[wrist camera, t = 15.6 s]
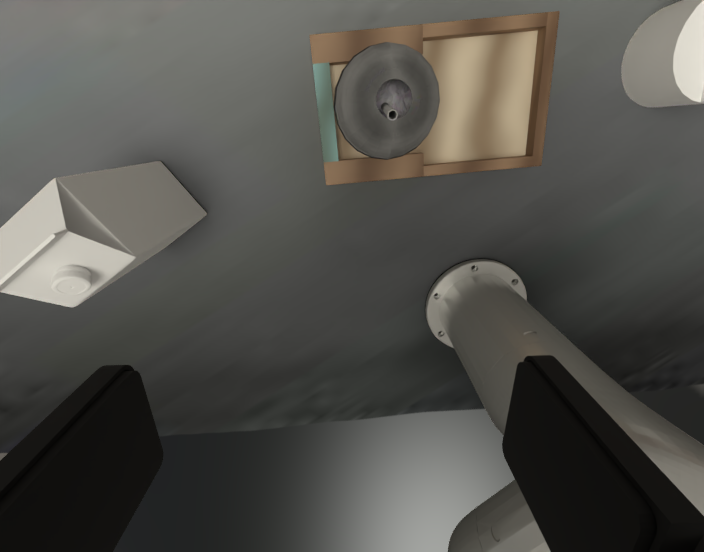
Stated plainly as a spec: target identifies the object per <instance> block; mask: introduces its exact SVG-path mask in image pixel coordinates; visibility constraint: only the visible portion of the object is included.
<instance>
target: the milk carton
mask: <svg viewBox="0 0 704 552" xmlns="http://www.w3.org/2000/svg"><path fill="white" fill-rule="evenodd" d="M206 215H207V213H206V212H205V211H204V209H203V208H202V207H201V206H200V205H199V204H198V203H197V202H196V200H195V199H194V198H193V197H192V196H191V195H190V194H189V193H188V191H187V190H186V189H185V188H184V187H183V186H182V185H181V183H180V182H179V181H178V180H177V179H176V178H175V177H174V176H173V174H172V173H171V172H170V171H169V170H168V169H167V168H166V167H165V165H164V164H163V163H162V162H161V161H156V162H150V163H144V164H138V165H132V166H126V167H120V168H114V169H107V170H101V171H95V172H89V173H83V174H77V175H71V176H65V177H59V178H54V179H53V180H52V181H50V182H49V183H48V184H47V185H46V186H45V187H44V188H43V189H42V190H41V191H40V192H39V193H38V194H36V195H35V196H34V197H33V198H32V199H31V200H30V201H29V202H28V203H27V204H26V205H25V206H24V207H23V208H22V209H20V210H19V211H18V212H17V213H16V214H15V215H14V216H13V217H12V218H11V219H10V220H9V221H8V222H7V223H6V224H4V225H3V226H2V227H1V228H0V292H2V293H7V294H12V295H16V296H21V297H26V298H30V299H35V300H39V301H44V302H49V303H53V304H58V305H62V306H67V307H75V306H77V305H79V304H81V303H82V302H84V301H85V300H87V299H88V298H90V297H91V296H93V295H94V294H96V293H97V292H99V291H100V290H102V289H103V288H105V287H106V286H108V285H110V284H111V283H113V282H114V281H116V280H117V279H119V278H120V277H122V276H123V275H125V274H126V273H128V272H129V271H131V270H132V269H134V268H135V267H137V266H138V265H140V264H141V263H143V262H144V261H146V260H147V259H149V258H150V257H152V256H154V255H155V254H157V253H158V252H160V251H161V250H163V249H164V248H166V247H167V246H168V245H170V244H171V243H172V242H173V241H175V240H176V239H177V238H178V237H180V236H181V235H182V234H183V233H185V232H186V231H187V230H188V229H190V228H191V227H192V226H193V225H195V224H196V223H197V222H198V221H200V220H201V219H202V218H204V217H205V216H206Z"/></svg>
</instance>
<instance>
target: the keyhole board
mask: <svg viewBox="0 0 704 552" xmlns="http://www.w3.org/2000/svg"><path fill="white" fill-rule="evenodd" d="M558 20H559V11H556V12H546V13H535V14H525V15H514V16H504V17H493V18H483V19H472V20H462V21H451V22H440V23H430V24H419V25H409V26H398V27H388V28H377V29H367V30H356V31H346V32H335V33H325V34H314V35H310V43H311V52H312V61H313V71H314V80H315V89H316V98H317V107H318V116H319V125H320V134H321V143H322V152H323V161H324V169H325V178H326V185H334V184H345V183H356V182H367V181H378V180H389V179H400V178H411V177H422V176H433V175H444V174H455V173H466V172H477V171H488V170H499V169H510V168H521V167H532V166H541V164H542V155H543V147H544V138H545V130H546V121H547V113H548V105H549V96H550V88H551V79H552V71H553V62H554V54H555V45H556V37H557V28H558ZM384 42H390V43H397V44H404V45H407V46H409V47H410V48H412V49H414V50H416V51H418V52H419V53H421V54H422V55H423V57H424V58H425V59H426V60H427V61H428V62H429V64H430V65H431V66H432V68H433V71H434V73H435V75H436V78H437V80H438V84H439V94H440V103H439V109H438V114H437V118H436V120H435V122H434V124H433V126H432V128H431V130H430V132H429V134H428V136H427V137H426V138H425V139H424V140H423V141H422V142H421V144H420V145H419V146H418V147H417V148H416V149H414V150H412V151H411V152H409V153H407V154H405V155H404V156H402V157H397V158H393V159H388V160H384V159H376V158H370V157H368V156H366V155H364V154H362V153H360V152H358V151H356V150H355V149H354V148H353V147H352V146H351V145H350V144H349V143H348V142H347V141H346V140H345V138H344V136H343V134H342V133H341V131H340V129H339V127H338V125H337V121H336V116H335V111H334V96H335V87H336V85H337V82H338V80H339V77H340V74H341V72H342V70H343V69H344V67H345V66H346V65H347V64H348V62H349V61H350V60H351V59H352V57H353V56H354V55H356V54H357V53H359V52H360V51H362V50H364V49H365V48H367V47H368V46H371V45H376V44H380V43H384Z"/></svg>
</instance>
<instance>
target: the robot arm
mask: <svg viewBox="0 0 704 552" xmlns="http://www.w3.org/2000/svg"><path fill="white" fill-rule="evenodd" d="M472 266H474V267H473V268H471V267H472ZM436 293H437V294H436ZM434 294H436V295H434ZM425 312H426V319H427V322H428V324H429V327H430V329H431V331H432V333H433V334H434V335H435V336H436V338H437V339H439V340H440V341H441V342H442V343H444V344H446V345H448V346H450V347H452V348H454V349H455V351H456V353H457V355H458V357H459V359H460V360H461V362H462V364H463V366H464V368H465V370H466V372H467V374H468V376H469V378H470V380H471V382H472V384H473V386H474V388H475V390H476V392H477V394H478V395H479V397H480V399H481V401H482V403H483V405H484V407H485V409H486V411H487V413H488V415H489V417H490V418H491V420H492V422H493V423H494V425H495V426H496V427H497V429H498V430H499V431H500V432H501V433H502V434H503V435H504V437H503V443H502V446H503V453H504V457H505V459H506V461H507V463H508V465H509V467H510V469H511V471H512V473H513V476H514V478H515V480H514V481H512V482H511V483H510V484H508V485H507V486H505V487H504V488H503V489H501V490H500V491H499V492H497V493H496V494H494V495H493V496H491V497H490V498H489V499H487V500H486V501H485V502H483V503H482V504H480V505H479V506H478V507H477V508H475V509H474V510H472V511H471V512H470V513H469V514H467V515H466V516H465V517H464V518H463V519H462V520H461V521H460V522H459V523H458V525H457V526H456V528H455V529H454V531H453V533H452V535H451V538H450V541H449V546H448V552H704V445H702V444H700V443H699V442H698V441H696V440H695V439H693V438H692V437H690V436H689V435H687V434H686V433H684V432H683V431H682V430H680V429H678V428H677V427H676V426H674V425H673V424H671V423H670V422H668V421H667V420H666V419H664V418H663V417H661V416H660V415H658V414H657V413H656V412H654V411H653V410H651V409H650V408H648V407H647V406H646V405H644V404H643V403H641V402H640V401H639V400H638V399H636V398H635V397H634V396H632V395H631V394H630V393H628V392H627V391H626V390H625V389H624V388H622V387H621V386H620V385H619V384H618V383H616V382H615V381H614V380H613V379H612V378H611V377H609V376H608V375H607V374H606V373H605V372H604V371H602V370H601V369H600V368H599V367H598V366H597V365H596V364H595V363H593V362H592V361H591V360H590V359H589V358H588V357H587V356H586V355H585V354H584V353H583V352H581V351H580V350H579V349H578V348H577V347H576V346H575V345H574V344H573V343H571V342H570V341H569V340H568V339H567V338H566V337H565V336H564V335H563V334H562V333H561V332H560V331H558V330H557V329H556V328H555V327H554V326H553V325H552V324H551V323H550V322H549V321H548V320H547V319H545V318H544V317H543V316H542V315H541V314H540V313H539V312H538V311H537V310H536V309H535V308H534V307H532V306H531V305H530V304H529V303H528V302H527V293H526V289H525V286H524V284H523V282H522V280H521V278H520V277H519V276H518V275H517V274H516V273H515V272H514V271H513V270H512V269H511V268H509V267H508V266H506V265H504V264H503V263H500V262H497V261H494V260H487V259H475V260H470V261H466V262H463V263H460V264H458V265H455V266H454V267H452V268H450V269H449V270H447V271H446V272H445V273H444V274H442V275H441V276H440V277H439V278H438V279H437V281H436V282H435V283H434V285H433V286H432V288H431V290H430V292H429V294H428V297H427V300H426V308H425ZM162 460H163V449H162V446H161V443H160V439H159V436H158V432H157V429H156V426H155V422H154V419H153V415H152V412H151V409H150V405H149V402H148V399H147V395H146V392H145V389H144V385H143V382H142V379H141V376H140V373H139V372H138V371H134V369H133V368H132V367H131V366H129V365H106V366H102V367H100V368H99V369H98V370H97V371H95V372H94V373H93V374H92V375H91V376H90V377H89V378H88V379H87V380H86V381H85V382H84V383H83V384H82V385H81V386H79V387H78V388H77V389H76V390H75V391H74V392H73V393H72V394H71V395H70V396H69V397H68V398H67V399H66V400H65V401H63V402H62V403H61V404H60V405H59V406H58V407H57V408H56V409H55V410H54V411H53V412H52V413H51V414H50V415H49V416H47V417H46V418H45V419H44V420H43V421H42V422H41V423H40V424H39V425H38V426H37V427H36V428H35V429H34V430H33V431H31V432H30V433H29V434H28V435H27V436H26V437H25V438H24V439H23V440H22V441H21V442H20V443H19V444H18V445H17V446H15V447H14V448H13V449H12V450H11V451H10V452H9V453H8V454H7V455H6V456H5V457H4V458H3V459H2V460H1V461H0V552H113V550H114V548H115V547H116V545H117V543H118V541H119V540H120V538H121V536H122V534H123V532H124V531H125V529H126V527H127V525H128V524H129V522H130V520H131V518H132V516H133V515H134V513H135V511H136V509H137V508H138V506H139V504H140V502H141V501H142V499H143V497H144V495H145V493H146V492H147V490H148V488H149V486H150V485H151V483H152V481H153V479H154V477H155V475H156V474H157V472H158V470H159V468H160V466H161V464H162Z"/></svg>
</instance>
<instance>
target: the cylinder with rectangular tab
mask: <svg viewBox="0 0 704 552" xmlns="http://www.w3.org/2000/svg"><path fill="white" fill-rule="evenodd" d="M621 75H622V83H623V86H624V90H625V92H626V93H627V95H628V96H629V97H630V99H631V100H632V101H634V102H635V103H637V104H638V105H641V106H645V107H648V108H653V107H668V106H681V105H694V104H704V0H682V1H679V2H677V3H674V4H672V5H669V6H666V7H664V8H662V9H660V10H659V11H657V12H655V13H654V14H652V15H651V16H649V17H648V18H647V19H646V20H645V21H644V22H643V23H642V24H641V25H640V26H639V28H638V29H637V31H636V32H635V33H634V35H633V36H632V38H631V39H630V41H629V44H628V46H627V48H626V51H625V53H624V57H623V62H622V66H621Z"/></svg>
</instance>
